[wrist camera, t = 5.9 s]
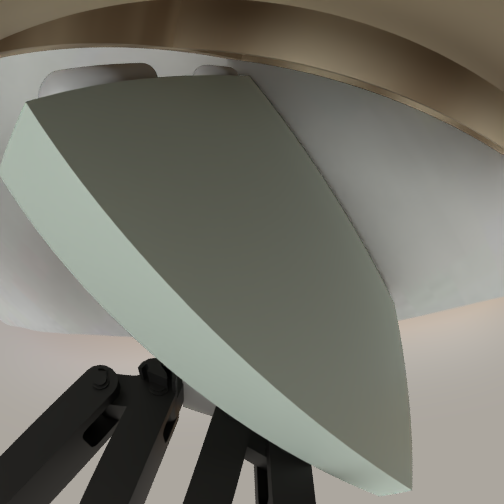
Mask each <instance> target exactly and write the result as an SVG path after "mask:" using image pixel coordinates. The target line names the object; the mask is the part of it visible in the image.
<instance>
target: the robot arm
mask: <svg viewBox="0 0 504 504" xmlns="http://www.w3.org/2000/svg"><path fill="white" fill-rule="evenodd" d="M138 369H139V373H140V375H137V376H131V375H120V374H116V373H115V372H114V371H113V369H111V368H109V367H107V366H104V365H97V366H93V367H91V368H90V369H88V370H87V371H86V372H85V373H84V374H83V375H82V376H81V377H80V378H79V379H78V380H77V381H76V382H75V383H74V384H73V385H71V386H70V387H69V388H68V389H67V391H65V392H64V393H63V394H62V395H61V396H60V397H59V398H58V399H57V400H56V401H55V402H54V403H53V404H52V405H51V406H50V407H49V408H48V409H47V410H46V411H45V412H44V413H43V414H42V415H41V416H40V417H39V418H38V419H37V420H36V421H35V422H34V423H33V424H32V425H31V426H30V427H29V428H28V429H27V430H26V431H25V432H24V433H23V434H22V435H21V436H20V437H19V438H18V439H17V440H16V441H15V442H14V443H13V444H12V445H11V446H10V447H9V448H8V449H7V450H6V451H5V452H4V453H3V454H2V455H1V456H0V504H50V503H51V501H52V500H53V499H54V498H55V497H56V496H57V495H58V494H59V493H60V492H61V491H62V489H64V488H65V487H66V485H67V484H68V483H69V482H70V481H71V480H72V479H73V478H74V477H75V476H76V474H77V473H78V472H79V471H80V470H81V469H82V468H83V467H84V466H85V465H86V464H87V462H88V461H89V460H90V459H91V458H92V457H93V456H94V455H95V454H96V453H97V451H98V450H99V449H100V448H101V447H102V446H103V445H104V444H105V443H106V441H107V440H108V439H109V438H110V437H111V436H112V437H111V439H110V441H109V443H108V445H107V447H106V449H105V451H104V453H103V455H102V457H101V459H100V461H99V463H98V465H97V468H96V470H95V472H94V474H93V476H92V478H91V480H90V482H89V484H88V486H87V489H86V491H85V493H84V495H83V497H82V499H81V502H80V504H144V503H145V500H146V498H147V496H148V493H149V490H150V488H151V486H152V483H153V481H154V478H155V476H156V473H157V471H158V468H159V466H160V464H161V461H162V459H163V456H164V454H165V451H166V449H167V446H168V444H169V441H170V439H171V436H172V434H173V432H174V429H175V427H176V424H177V422H178V418H179V411H180V409H181V406H182V404H183V407H186V408H189V409H191V410H195V411H198V412H200V413H204V414H207V415H210V416H212V419H211V423H210V425H209V428H208V431H207V434H206V437H205V440H204V443H203V447H202V449H201V452H200V455H199V458H198V461H197V464H196V467H195V470H194V473H193V476H192V479H191V481H190V485H189V487H188V491H187V493H186V496H185V499H184V502H183V504H232V501H233V498H234V494H235V490H236V487H237V483H238V479H239V476H240V472H241V468H242V464H243V461H244V459H245V460H247V461H249V462H251V463H252V464H254V473H255V474H254V475H255V499H256V504H316V502H315V492H314V484H313V475H312V467H311V464H309V463H307V462H305V461H303V460H301V459H299V458H298V457H296V456H294V455H292V454H291V453H289V452H287V451H285V450H284V449H282V448H280V447H278V446H277V445H275V444H273V443H272V442H270V441H269V440H267V439H265V438H264V437H262V436H260V435H259V434H257V433H256V432H254V431H253V430H251V429H250V428H248V427H246V426H245V425H243V424H242V423H240V422H239V421H237V420H236V419H235V418H233V417H232V416H230V415H229V414H227V413H226V412H224V411H223V410H222V409H220V408H219V407H217V406H216V405H215V404H213V403H212V402H211V401H209V400H208V399H207V398H205V397H204V396H203V395H201V394H200V393H199V392H197V391H196V390H195V389H193V388H192V387H191V386H190V385H188V384H187V383H186V382H184V381H183V380H182V379H181V378H180V377H178V376H177V375H176V374H175V373H173V372H172V371H171V370H170V369H169V368H167V367H166V366H165V365H164V364H163V363H161V362H160V361H159V360H158V359H157V358H152V359H148V360H146V361H144V362H142V363H141V365H140V366H139V367H138Z"/></svg>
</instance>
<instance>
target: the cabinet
mask: <svg viewBox="0 0 504 504" xmlns="http://www.w3.org/2000/svg"><path fill="white" fill-rule="evenodd" d="M89 47H127V48H147V49H160V50H171V51H180V52H188V53H196V54H202V55H209V56H215V57H220V58H226V59H234V60H242V61H249V62H255V63H261V64H267V65H273V66H278V67H283V68H288V69H293V70H297V71H302V72H306V73H310V74H314V75H318V76H322V77H326V78H329V79H333V80H336V81H340V82H343V83H347V84H350V85H353V86H356V87H359V88H362V89H365V90H368V91H371V92H374V93H377V94H380V95H382V96H385V97H388V98H391V99H393V100H396V101H398V102H401V103H403V104H406V105H408V106H410V107H413V108H415V109H418V110H420V111H422V112H424V113H427V114H429V115H431V116H433V117H435V118H437V119H439V120H441V121H444V122H446V123H448V124H450V125H452V126H454V127H455V128H457V129H459V130H461V131H463V132H465V133H467V134H469V135H470V136H472V137H474V138H476V139H478V140H479V141H481V142H483V143H484V144H486V145H488V146H489V147H491V148H493V149H494V150H496V151H498V152H499V153H501V154H502V155H504V0H0V58H2V57H7V56H12V55H18V54H24V53H31V52H38V51H47V50H56V49H69V48H89Z"/></svg>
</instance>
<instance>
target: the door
mask: <svg viewBox="0 0 504 504" xmlns="http://www.w3.org/2000/svg"><path fill="white" fill-rule="evenodd" d="M0 177H1V179H2V180H3V182H4V183H5V185H6V187H7V188H8V190H9V191H10V193H11V194H12V196H13V197H14V199H15V200H16V202H17V203H18V205H19V206H20V208H21V209H22V211H23V212H24V213H25V215H26V216H27V218H28V219H29V220H30V222H31V223H32V225H33V226H34V227H35V229H36V230H37V231H38V233H39V234H40V235H41V237H42V238H43V239H44V240H45V242H46V243H47V244H48V246H49V247H50V248H51V249H52V251H53V252H54V253H55V254H56V256H57V257H58V258H59V259H60V260H61V262H62V263H63V264H64V265H65V266H66V268H67V269H68V270H69V271H70V272H71V273H72V275H73V276H74V277H75V278H76V279H77V280H78V281H79V282H80V284H81V285H82V286H83V287H84V288H85V289H86V290H87V291H88V292H89V293H90V295H91V296H92V297H93V298H94V299H95V300H96V301H97V302H98V303H99V304H100V305H101V306H102V307H103V308H104V309H105V310H106V311H107V312H108V313H109V314H110V315H111V316H112V317H113V318H114V319H115V320H116V321H117V322H118V323H119V324H120V325H121V326H122V327H123V328H124V329H125V330H126V331H127V332H128V333H129V334H130V335H131V336H132V337H133V338H135V339H136V340H137V341H138V342H139V343H140V344H141V345H142V346H143V347H144V348H145V349H147V350H148V351H149V352H150V353H151V354H152V355H153V356H155V357H156V358H157V359H158V360H159V361H160V362H161V363H163V364H164V365H165V366H166V367H167V368H169V369H170V370H171V371H172V372H173V373H175V374H176V375H177V376H178V377H180V378H181V379H182V380H183V381H184V382H186V383H187V384H188V385H190V386H191V387H192V388H193V389H195V390H196V391H197V392H199V393H200V394H201V395H203V396H204V397H205V398H207V399H208V400H209V401H211V402H212V403H213V404H215V405H216V406H217V407H219V408H220V409H222V410H223V411H224V412H226V413H227V414H229V415H230V416H232V417H233V418H235V419H236V420H237V421H239V422H240V423H242V424H243V425H245V426H246V427H248V428H250V429H251V430H253V431H254V432H256V433H257V434H259V435H260V436H262V437H264V438H265V439H267V440H269V441H270V442H272V443H273V444H275V445H277V446H278V447H280V448H282V449H284V450H285V451H287V452H289V453H291V454H292V455H294V456H296V457H298V458H299V459H301V460H303V461H305V462H307V463H309V464H311V465H313V466H314V467H316V468H318V469H320V470H322V471H324V472H326V473H328V474H330V475H332V476H335V477H337V478H339V479H341V480H343V481H345V482H347V483H349V484H352V485H354V486H356V487H359V488H361V489H363V490H366V491H368V492H370V493H373V494H375V495H378V496H384V495H390V494H396V493H401V492H406V491H411V490H412V437H411V420H410V407H409V396H408V388H407V378H406V370H405V363H404V356H403V349H402V344H401V338H400V331H399V326H398V321H397V315H396V310H395V305H394V302H393V300H392V298H391V296H390V294H389V292H388V290H387V288H386V286H385V284H384V282H383V280H382V278H381V276H380V274H379V272H378V271H377V269H376V267H375V265H374V263H373V261H372V259H371V258H370V256H369V254H368V252H367V250H366V248H365V247H364V245H363V243H362V241H361V240H360V238H359V236H358V234H357V233H356V231H355V229H354V227H353V226H352V224H351V222H350V221H349V219H348V217H347V216H346V214H345V212H344V211H343V209H342V207H341V206H340V204H339V202H338V201H337V199H336V197H335V196H334V194H333V193H332V191H331V189H330V188H329V186H328V185H327V183H326V182H325V180H324V179H323V177H322V175H321V174H320V172H319V171H318V169H317V168H316V166H315V165H314V163H313V162H312V160H311V159H310V157H309V156H308V154H307V153H306V152H305V150H304V149H303V147H302V146H301V144H300V143H299V141H298V140H297V139H296V137H295V136H294V134H293V133H292V132H291V130H290V129H289V127H288V126H287V125H286V123H285V122H284V121H283V119H282V118H281V116H280V115H279V114H278V112H277V111H276V110H275V108H274V107H273V106H272V104H271V103H270V102H269V101H268V99H267V98H266V97H265V95H264V94H263V93H262V92H261V90H260V89H259V88H258V86H257V85H256V84H255V83H254V81H253V80H252V79H251V78H250V77H249V76H239V75H238V73H237V71H236V70H235V69H233V68H231V67H224V66H214V65H203V66H200V67H199V68H197V69H196V70H195V72H194V74H193V76H171V77H157V74H156V72H155V70H154V69H153V68H152V67H151V66H150V65H148V64H145V63H127V64H110V65H97V66H87V67H79V68H71V69H64V70H57V71H53V72H52V73H50V74H49V75H48V76H47V77H46V78H45V79H44V81H43V82H42V84H41V87H40V90H39V94H38V99H34V100H31V101H27V102H25V105H24V107H23V109H22V111H21V113H20V115H19V118H18V120H17V122H16V125H15V127H14V130H13V132H12V134H11V137H10V140H9V142H8V145H7V148H6V150H5V153H4V156H3V159H2V162H1V165H0Z"/></svg>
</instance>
